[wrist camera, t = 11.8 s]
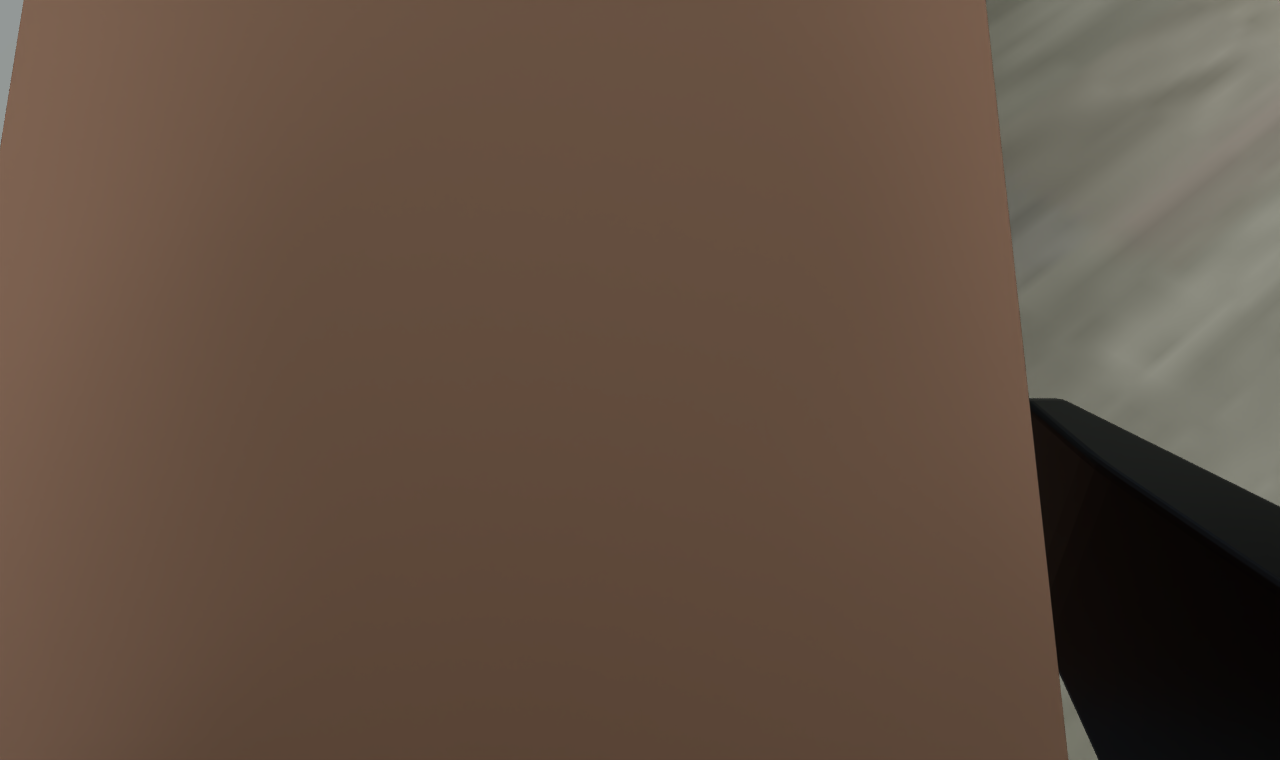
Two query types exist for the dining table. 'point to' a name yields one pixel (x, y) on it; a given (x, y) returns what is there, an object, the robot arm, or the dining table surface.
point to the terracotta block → (514, 385)
